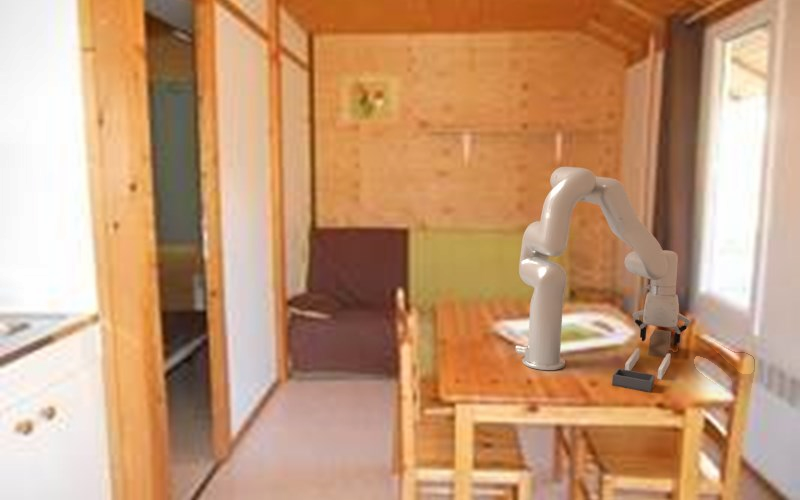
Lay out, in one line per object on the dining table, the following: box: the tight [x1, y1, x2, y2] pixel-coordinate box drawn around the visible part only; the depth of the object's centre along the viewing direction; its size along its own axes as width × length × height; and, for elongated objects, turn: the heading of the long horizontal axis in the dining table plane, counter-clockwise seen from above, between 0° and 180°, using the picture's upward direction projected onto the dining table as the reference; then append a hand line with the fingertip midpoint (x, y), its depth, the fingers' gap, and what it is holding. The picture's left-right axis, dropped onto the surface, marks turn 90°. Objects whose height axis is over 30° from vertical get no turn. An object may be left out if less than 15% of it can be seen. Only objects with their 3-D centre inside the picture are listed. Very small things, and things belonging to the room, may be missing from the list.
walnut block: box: [648, 328, 672, 359], centre depth 210 cm, size 5×10×6 cm, turn 151°
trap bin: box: [611, 368, 656, 393], centre depth 182 cm, size 10×6×3 cm, turn 60°
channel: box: [624, 347, 672, 381], centre depth 195 cm, size 10×16×3 cm, turn 150°
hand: (659, 342), depth 209 cm, fingers open, 9 cm apart
